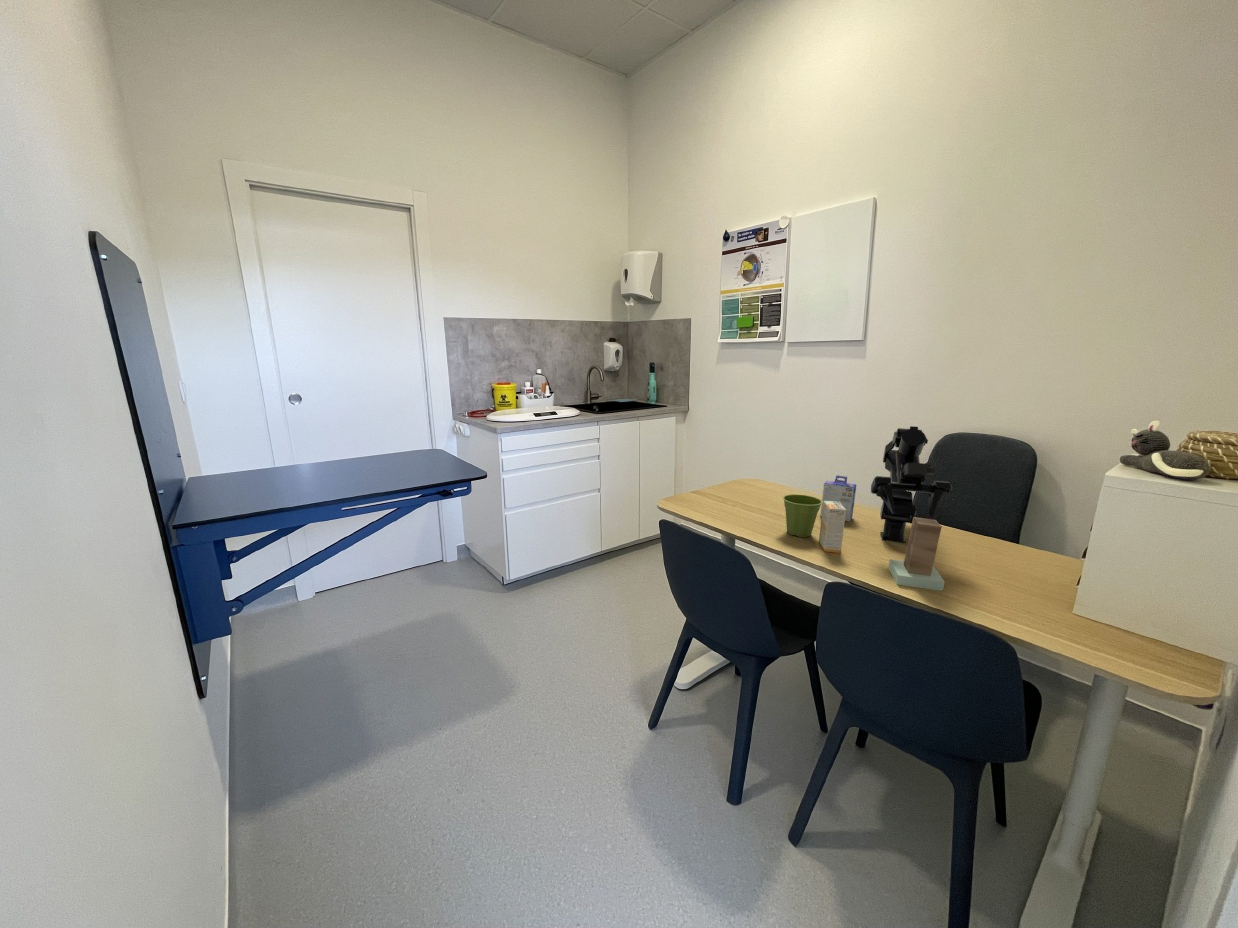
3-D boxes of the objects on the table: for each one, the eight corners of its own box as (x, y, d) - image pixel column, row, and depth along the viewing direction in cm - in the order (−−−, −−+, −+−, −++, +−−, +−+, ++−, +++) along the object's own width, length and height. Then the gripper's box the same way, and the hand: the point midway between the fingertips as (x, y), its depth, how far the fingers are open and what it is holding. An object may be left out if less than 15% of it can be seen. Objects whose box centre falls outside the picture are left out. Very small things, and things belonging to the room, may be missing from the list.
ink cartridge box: (852, 517, 169) (858, 477, 166) (850, 522, 165) (856, 481, 161) (822, 512, 174) (827, 473, 171) (819, 516, 170) (824, 476, 166)
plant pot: (826, 535, 152) (831, 501, 150) (803, 543, 146) (807, 507, 143) (794, 524, 162) (798, 491, 159) (771, 531, 155) (774, 497, 153)
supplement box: (841, 553, 139) (847, 509, 136) (823, 551, 140) (828, 508, 137) (835, 542, 147) (840, 501, 144) (818, 541, 148) (823, 499, 145)
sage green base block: (888, 569, 130) (889, 559, 130) (930, 575, 127) (932, 564, 127) (896, 586, 121) (898, 575, 120) (942, 592, 118) (944, 581, 117)
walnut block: (903, 563, 126) (913, 516, 123) (925, 567, 125) (935, 519, 122) (907, 572, 122) (918, 523, 118) (930, 575, 120) (941, 526, 117)
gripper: (878, 447, 135) (881, 497, 127) (956, 452, 129) (964, 504, 121) (869, 469, 144) (871, 516, 136) (941, 474, 138) (948, 524, 131)
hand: (912, 515), depth 131 cm, fingers open, 9 cm apart
